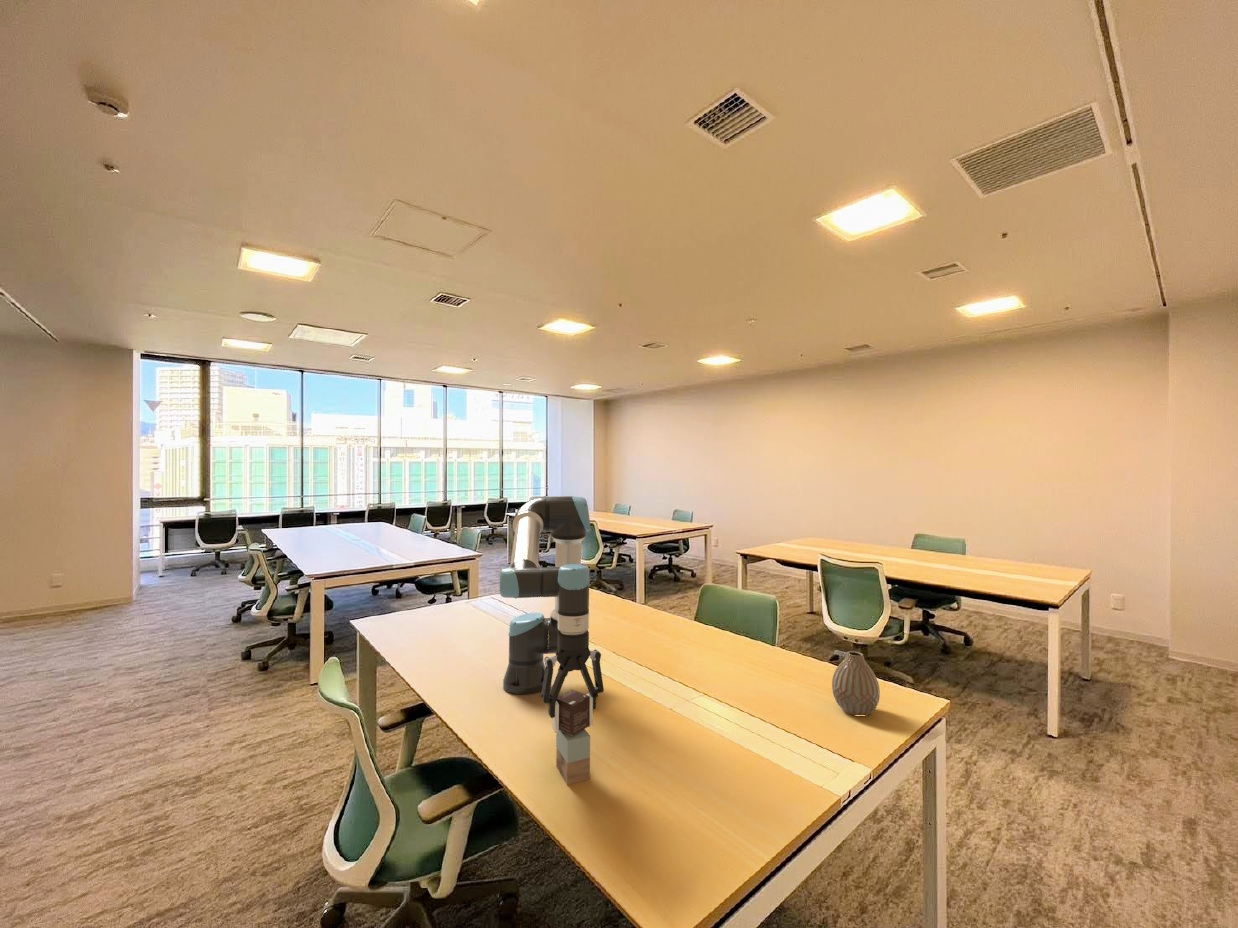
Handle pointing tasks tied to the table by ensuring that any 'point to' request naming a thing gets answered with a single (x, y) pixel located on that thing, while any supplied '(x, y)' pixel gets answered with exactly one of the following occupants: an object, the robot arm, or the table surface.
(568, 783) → the tower base
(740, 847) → the table surface
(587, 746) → the tower top
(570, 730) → the box
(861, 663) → the vase
